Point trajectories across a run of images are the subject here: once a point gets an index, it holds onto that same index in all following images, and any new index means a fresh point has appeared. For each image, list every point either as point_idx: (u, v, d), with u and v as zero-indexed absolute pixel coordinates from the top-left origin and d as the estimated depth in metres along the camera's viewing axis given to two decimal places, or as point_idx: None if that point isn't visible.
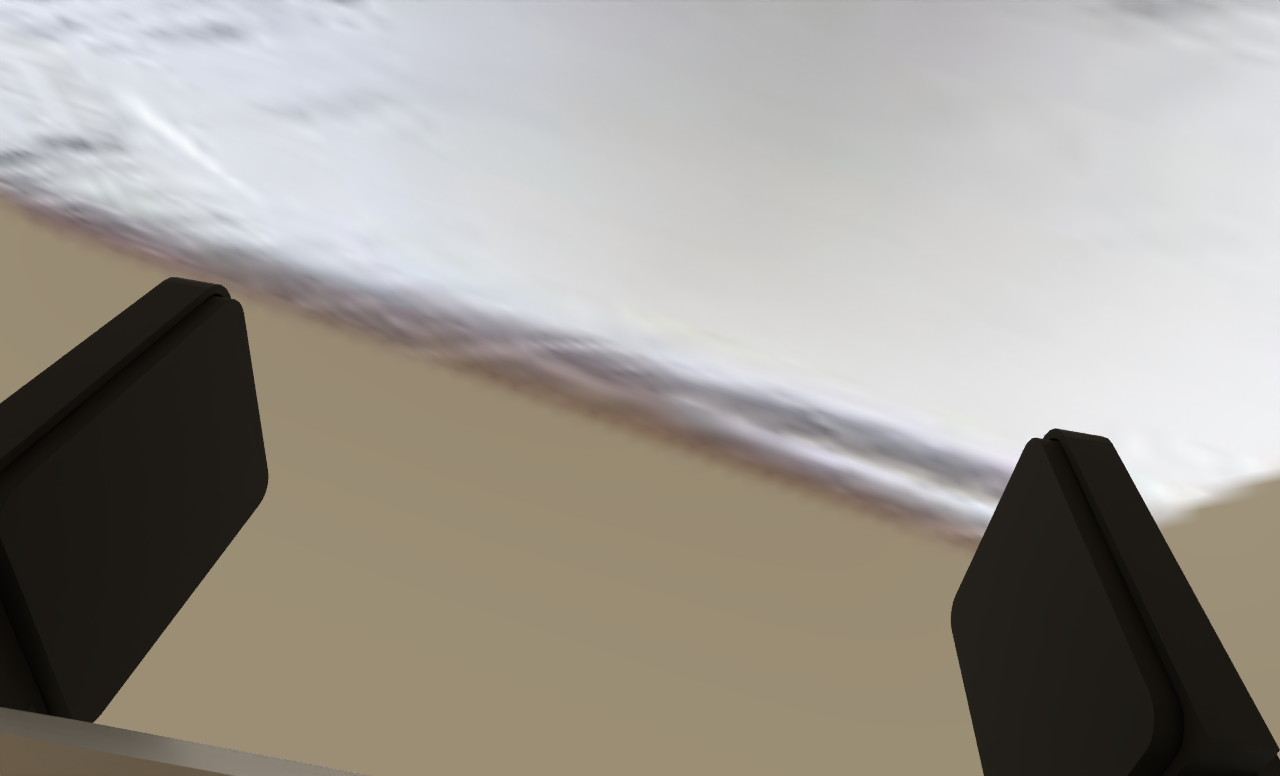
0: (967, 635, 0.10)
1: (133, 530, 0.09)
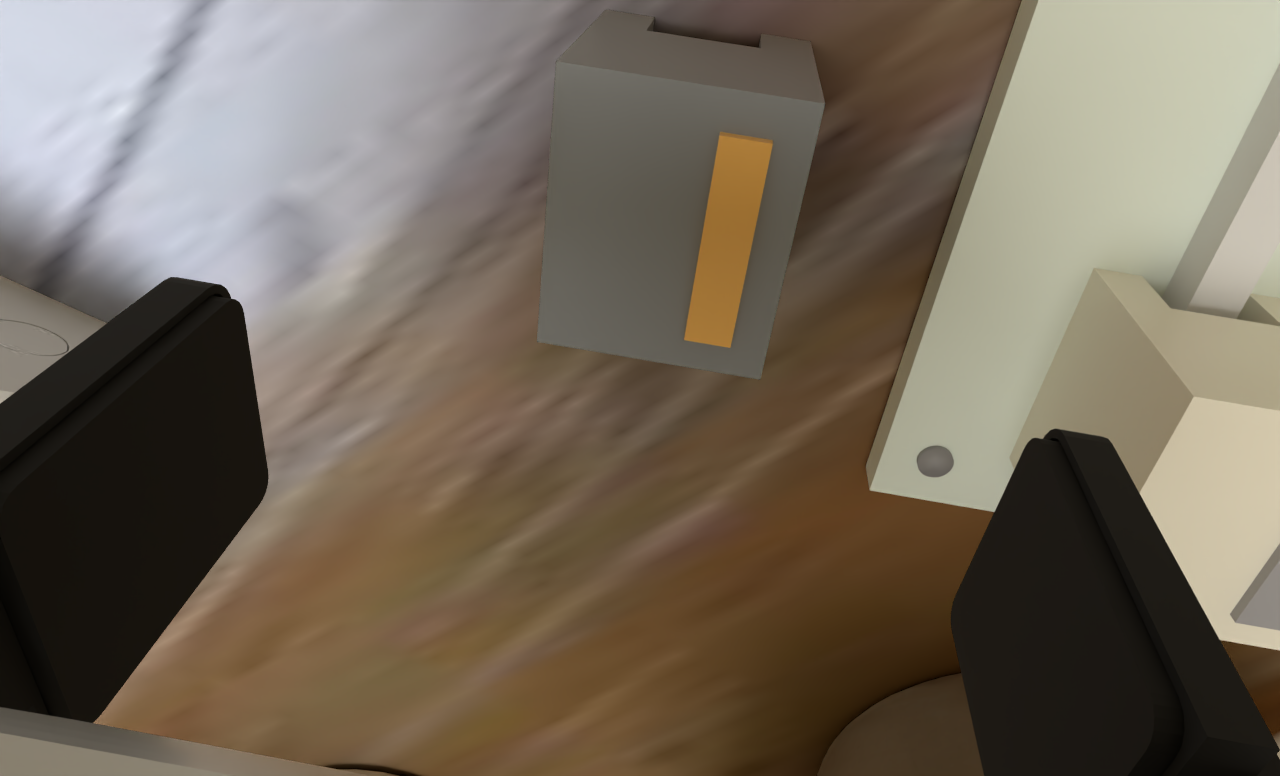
0: (967, 635, 0.10)
1: (133, 530, 0.09)
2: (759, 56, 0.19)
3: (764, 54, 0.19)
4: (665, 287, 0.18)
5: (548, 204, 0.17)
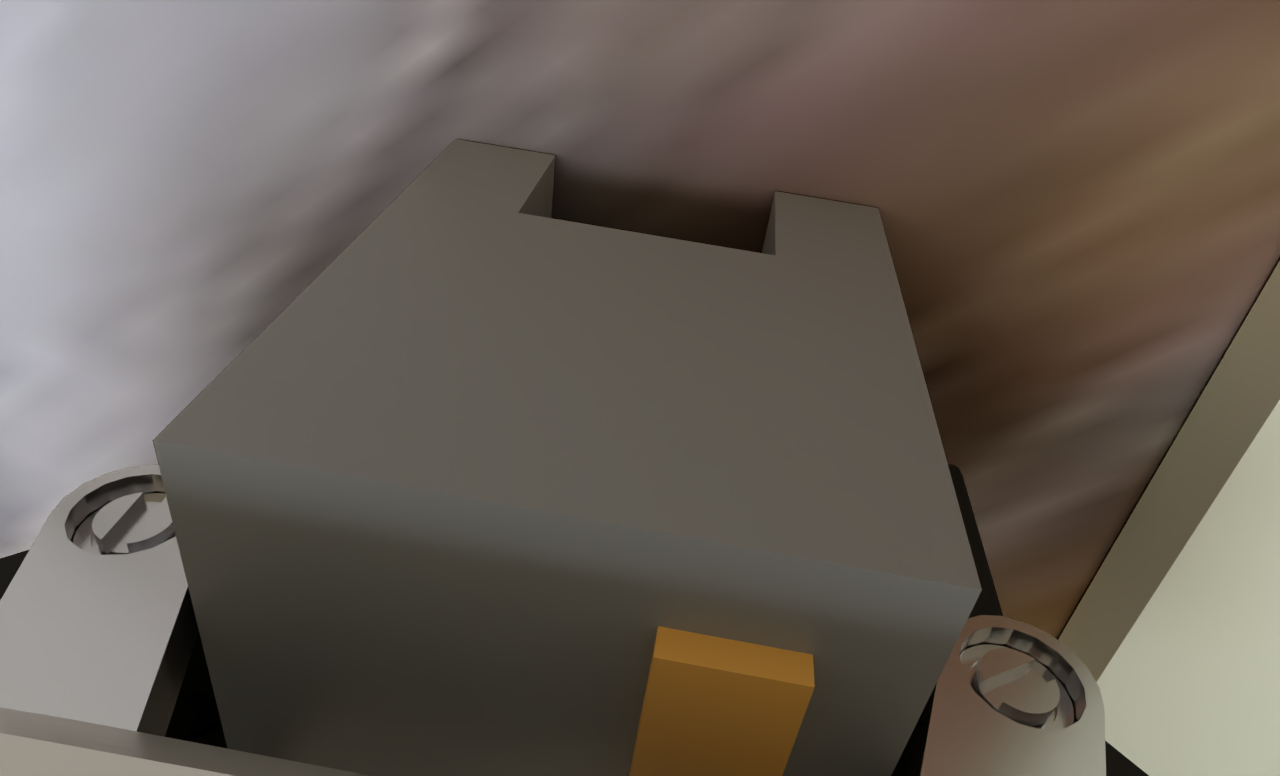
0: None
1: None
2: (772, 297, 0.08)
3: (784, 283, 0.08)
4: None
5: (226, 721, 0.07)
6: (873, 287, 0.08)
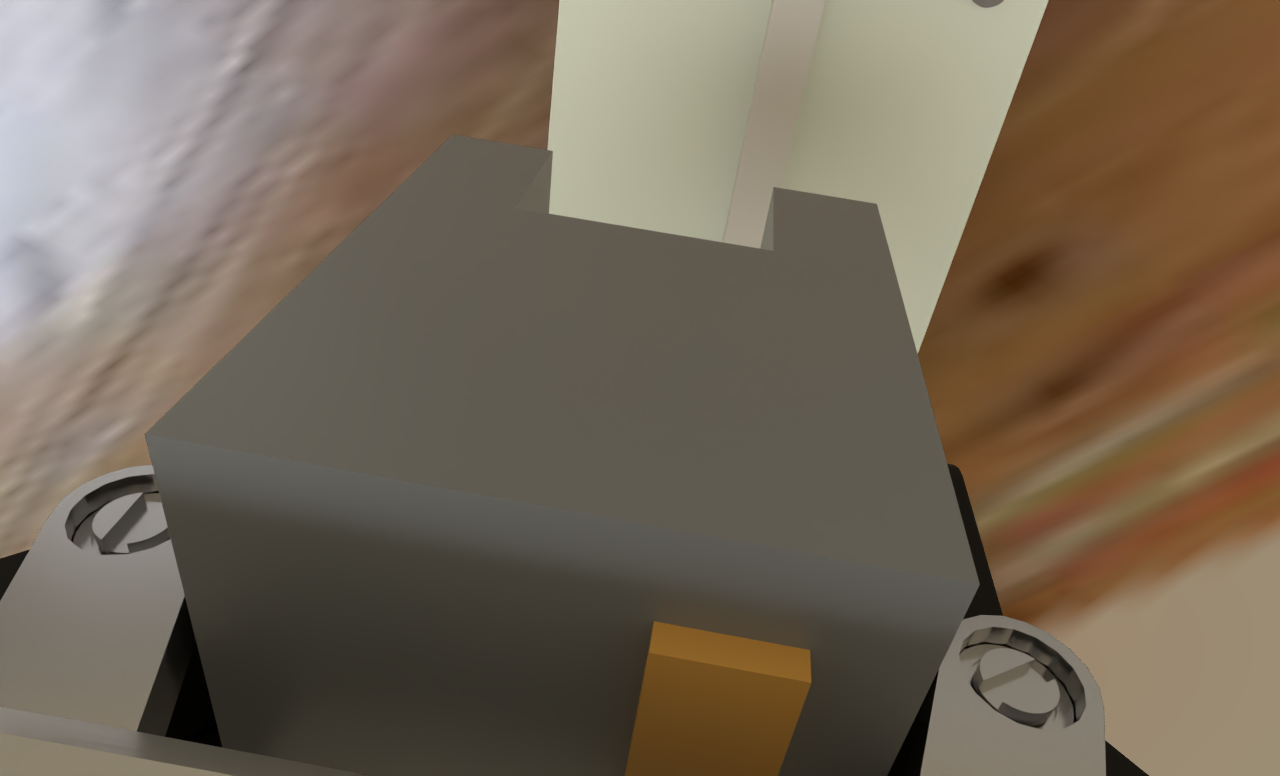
0: None
1: None
2: (770, 292, 0.08)
3: (781, 278, 0.08)
4: None
5: (221, 718, 0.07)
6: (871, 282, 0.08)
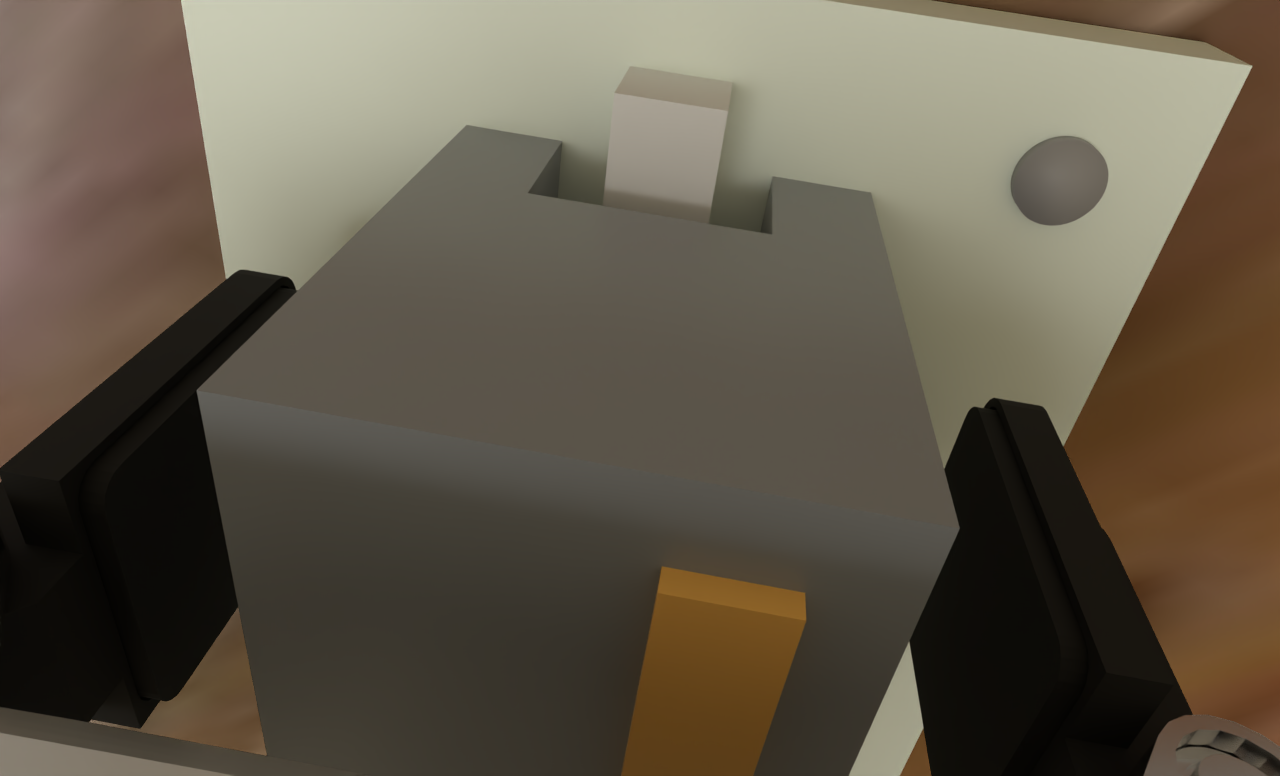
0: None
1: (212, 512, 0.09)
2: (769, 272, 0.08)
3: (780, 260, 0.09)
4: None
5: (255, 665, 0.07)
6: (865, 264, 0.09)
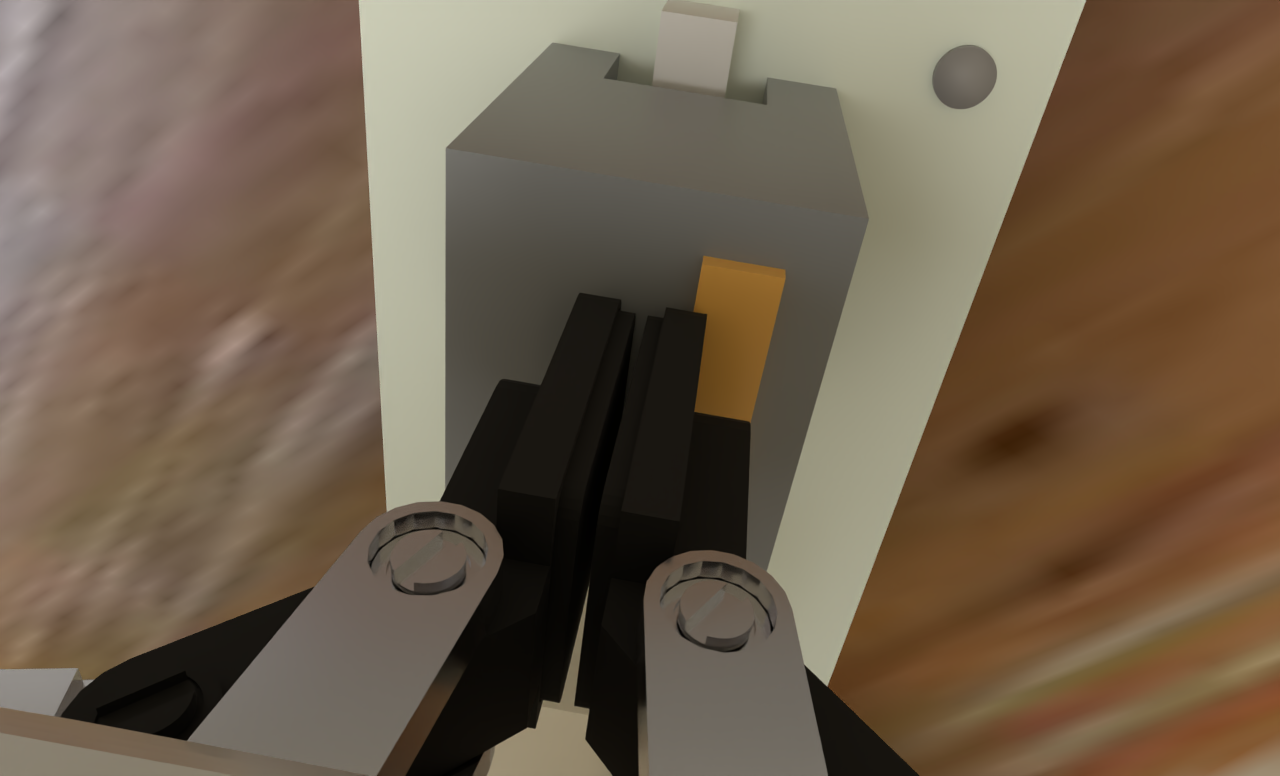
0: None
1: (592, 524, 0.09)
2: (765, 121, 0.13)
3: (772, 116, 0.13)
4: None
5: (448, 349, 0.12)
6: (828, 121, 0.13)
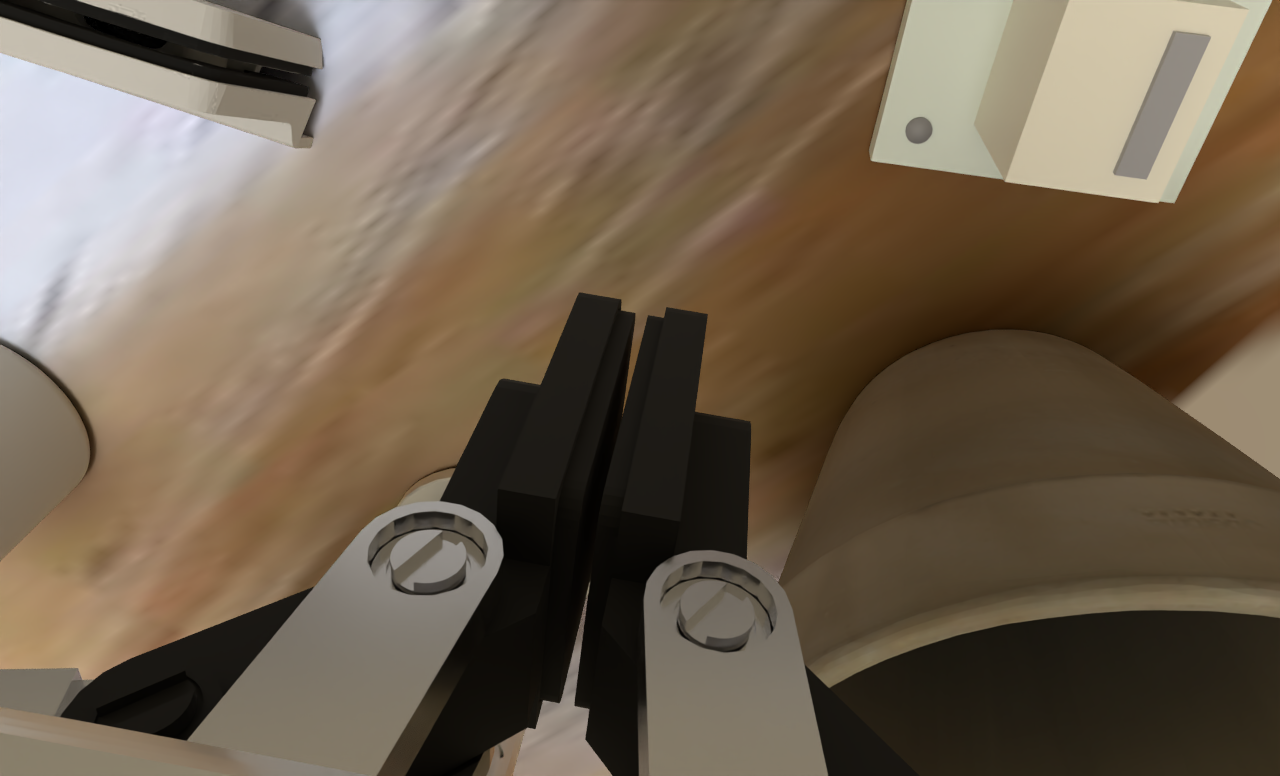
0: None
1: (592, 524, 0.09)
2: None
3: None
4: None
5: None
6: None
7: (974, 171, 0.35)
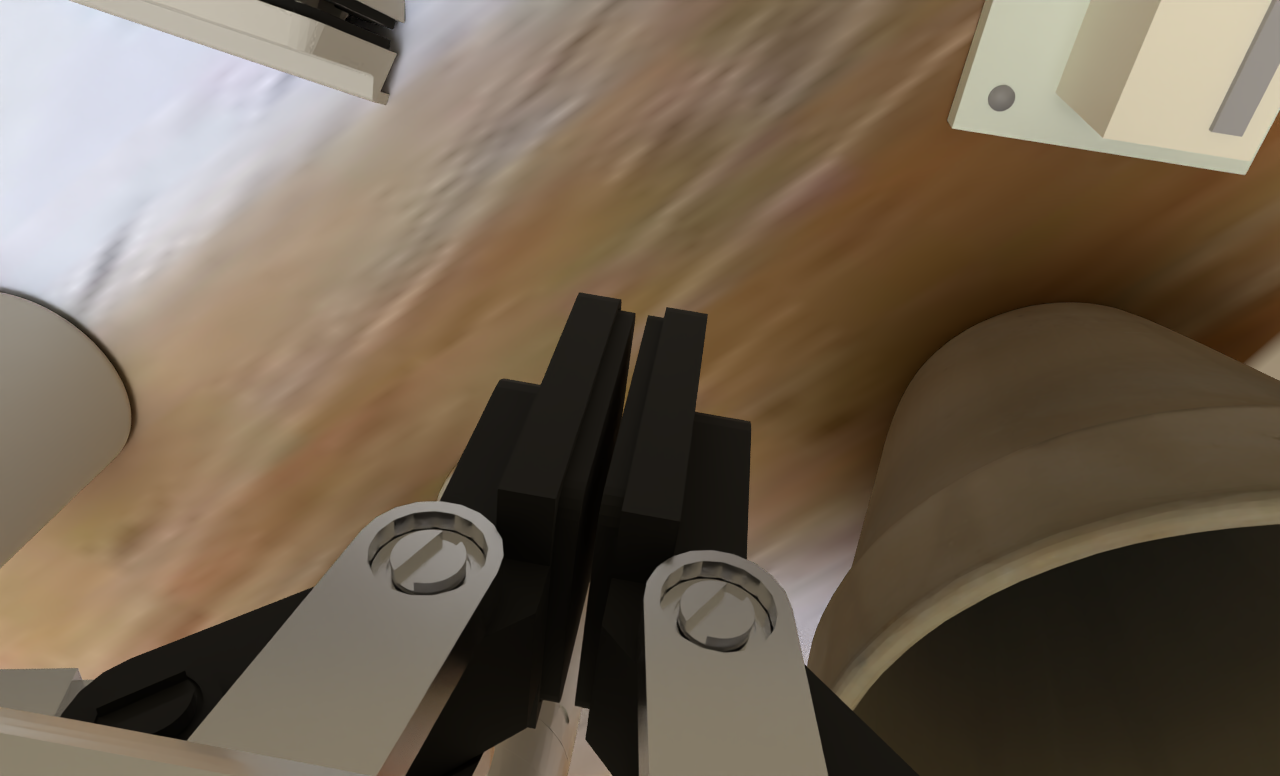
0: None
1: (592, 524, 0.09)
2: None
3: None
4: None
5: None
6: None
7: (1052, 140, 0.36)
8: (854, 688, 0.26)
